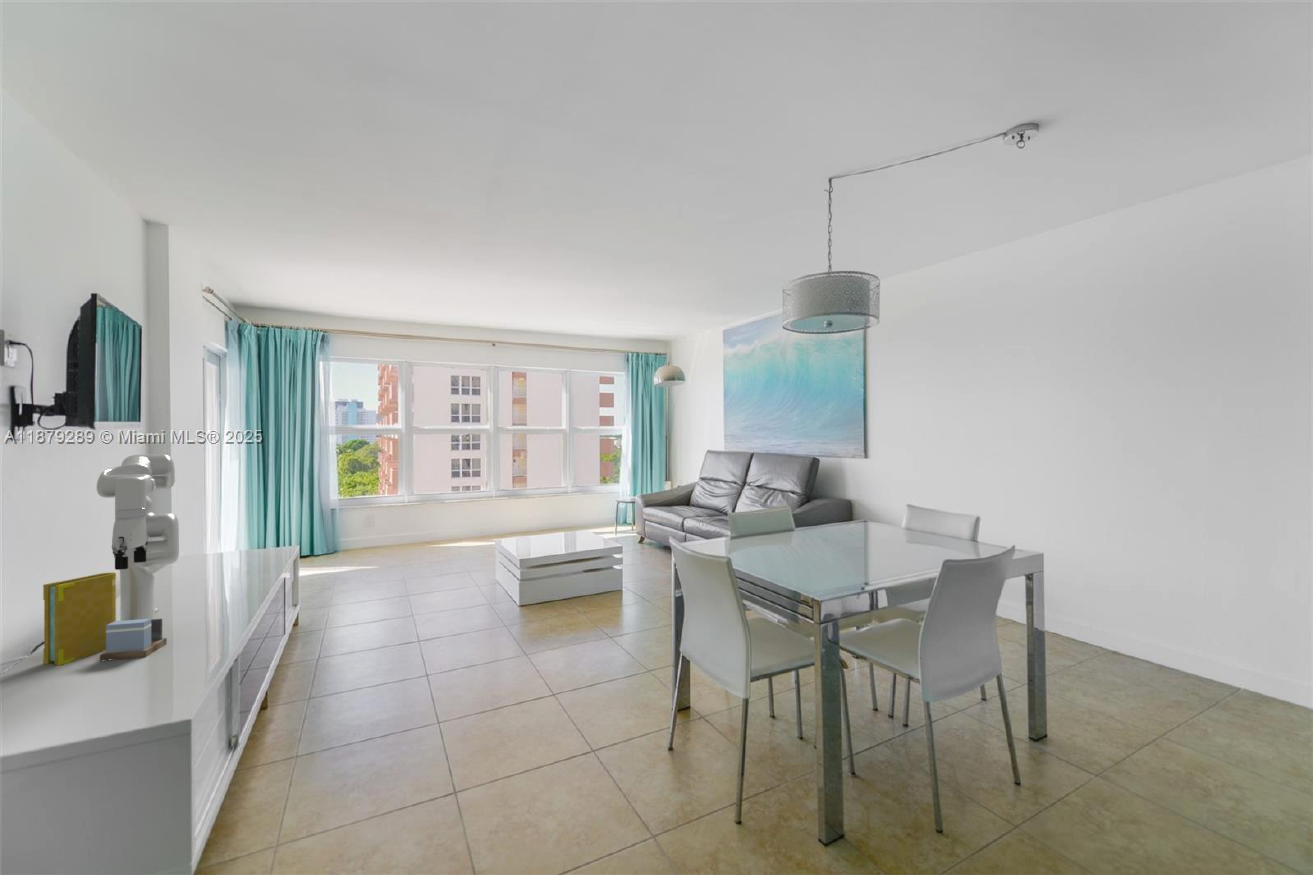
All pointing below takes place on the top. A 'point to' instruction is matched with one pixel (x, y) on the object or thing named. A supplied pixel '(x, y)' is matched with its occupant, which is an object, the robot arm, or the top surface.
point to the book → (77, 617)
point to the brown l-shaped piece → (155, 645)
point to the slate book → (128, 635)
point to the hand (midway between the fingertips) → (131, 565)
